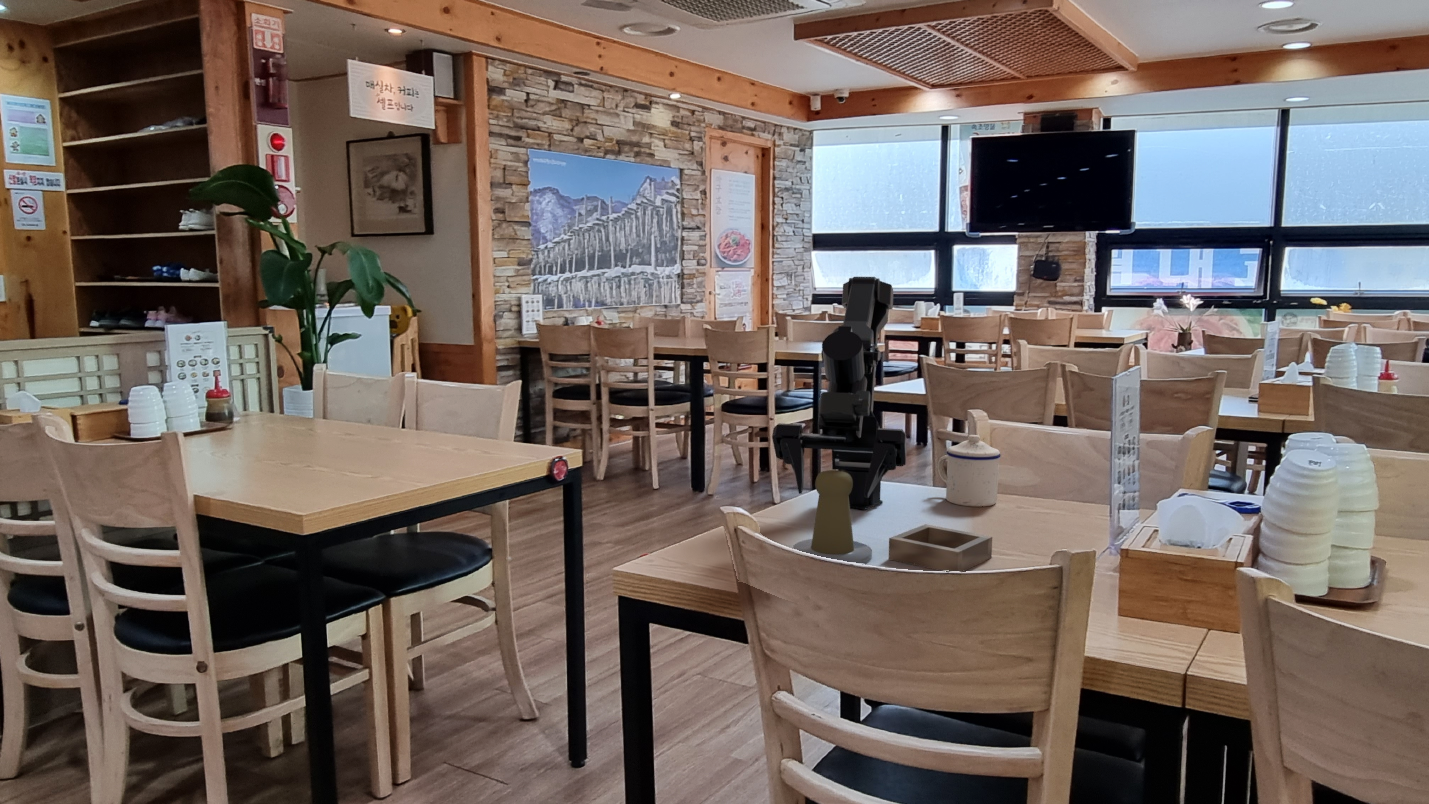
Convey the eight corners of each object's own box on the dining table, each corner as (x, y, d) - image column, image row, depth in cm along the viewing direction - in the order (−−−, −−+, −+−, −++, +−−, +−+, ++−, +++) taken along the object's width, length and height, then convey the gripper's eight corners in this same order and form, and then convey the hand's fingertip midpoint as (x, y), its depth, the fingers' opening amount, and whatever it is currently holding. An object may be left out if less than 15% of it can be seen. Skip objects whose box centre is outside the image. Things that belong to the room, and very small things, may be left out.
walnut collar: (888, 559, 140) (889, 538, 139) (924, 544, 147) (925, 524, 147) (957, 574, 133) (958, 552, 133) (991, 557, 141) (992, 536, 140)
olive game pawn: (840, 556, 137) (842, 477, 135) (802, 549, 140) (804, 471, 139) (862, 547, 142) (864, 470, 140) (825, 540, 145) (826, 465, 144)
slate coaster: (777, 556, 140) (777, 549, 140) (821, 540, 149) (821, 534, 149) (844, 572, 133) (844, 564, 133) (886, 554, 142) (886, 547, 142)
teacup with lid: (1009, 502, 175) (1012, 436, 173) (975, 510, 169) (978, 441, 168) (954, 490, 184) (957, 427, 182) (920, 496, 178) (923, 432, 177)
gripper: (775, 367, 144) (758, 457, 135) (908, 372, 139) (899, 465, 130) (784, 414, 153) (769, 501, 143) (909, 420, 148) (901, 510, 139)
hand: (832, 494), depth 139 cm, fingers open, 9 cm apart
